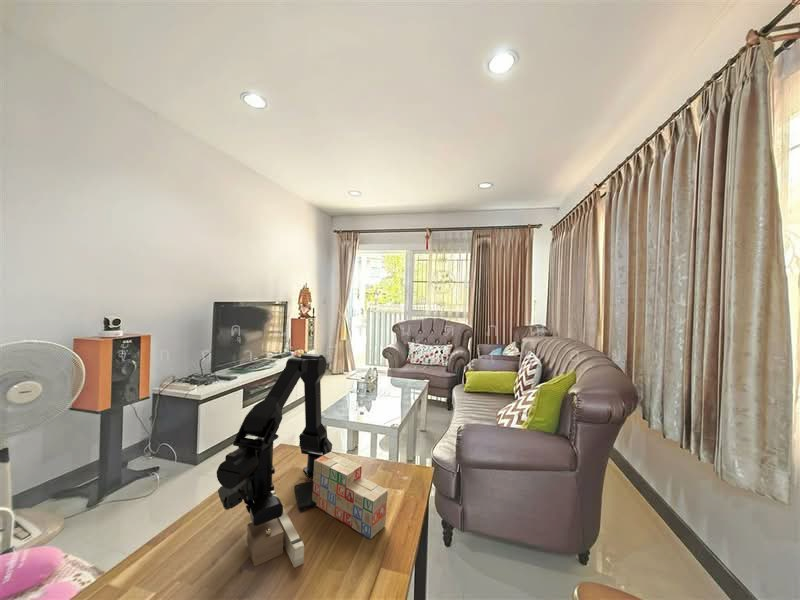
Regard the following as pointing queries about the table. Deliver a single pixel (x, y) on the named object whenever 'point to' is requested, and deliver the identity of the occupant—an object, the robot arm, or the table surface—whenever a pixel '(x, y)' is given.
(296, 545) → the rail
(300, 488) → the handheld gaming console
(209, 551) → the table surface
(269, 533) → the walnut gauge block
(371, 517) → the stack of blocks
